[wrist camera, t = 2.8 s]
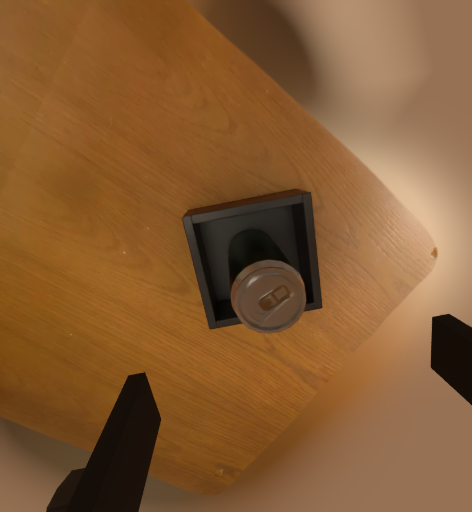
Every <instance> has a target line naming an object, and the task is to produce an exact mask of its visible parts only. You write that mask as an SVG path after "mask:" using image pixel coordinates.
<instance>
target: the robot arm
mask: <svg viewBox="0 0 472 512" xmlns="http://www.w3.org/2000/svg"><path fill="white" fill-rule="evenodd" d="M431 368H432V369H433V370H434V371H435V372H436V373H437V374H438V375H440V376H441V377H442V378H443V379H444V380H445V381H446V382H447V383H448V384H449V385H450V386H451V387H453V388H454V389H455V390H456V391H457V392H458V393H459V394H460V395H461V396H462V397H464V398H465V399H466V400H467V401H468V402H469V403H470V404H471V405H472V327H470V326H468V325H466V324H465V323H463V322H462V321H460V320H458V319H457V318H455V317H454V316H452V315H450V314H446V315H440V316H435V317H432V342H431ZM160 422H161V417H160V414H159V411H158V408H157V405H156V402H155V400H154V397H153V394H152V391H151V388H150V385H149V382H148V379H147V376H146V374H145V372H144V373H139V374H134V375H129V376H128V378H127V380H126V382H125V384H124V386H123V388H122V390H121V393H120V395H119V397H118V399H117V401H116V403H115V405H114V408H113V410H112V412H111V414H110V416H109V418H108V420H107V423H106V425H105V427H104V429H103V431H102V433H101V435H100V438H99V440H98V442H97V444H96V446H95V448H94V450H93V453H92V455H91V457H90V459H89V461H88V463H87V466H86V468H83V469H77V470H73V471H71V472H70V474H69V475H68V476H67V477H66V478H65V480H64V481H63V482H62V483H61V485H60V486H59V487H58V488H57V490H56V492H55V494H54V496H53V497H52V499H51V501H50V503H49V505H48V507H47V511H46V512H138V511H139V507H140V503H141V499H142V495H143V490H144V487H145V483H146V479H147V475H148V471H149V467H150V463H151V459H152V454H153V450H154V446H155V442H156V438H157V434H158V430H159V426H160Z"/></svg>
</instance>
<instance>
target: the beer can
mask: <svg viewBox="0 0 472 512" xmlns="http://www.w3.org/2000/svg"><path fill="white" fill-rule="evenodd" d="M228 268H229V283H230V297H231V303H232V307H233V309H234V311H235V313H236V314H237V316H238V317H239V319H240V321H241V322H242V323H243V324H244V325H245V326H247V327H248V328H249V329H251V330H254V331H256V332H259V333H268V334H270V333H276V332H281V331H283V330H285V329H287V328H289V327H291V326H292V325H293V324H294V323H295V322H297V321H298V320H299V318H300V316H301V315H302V313H303V312H304V308H305V304H306V292H305V286H304V282H303V280H302V278H301V276H300V274H299V273H298V271H297V270H296V269H295V267H294V266H293V265H292V264H291V262H290V261H289V260H288V258H287V257H286V256H285V254H284V253H283V252H282V251H281V249H280V248H279V247H278V245H277V244H276V243H275V241H274V240H273V239H272V238H271V237H270V236H269V235H268V234H266V233H264V232H262V231H258V230H249V231H244V232H242V233H240V234H239V235H237V236H236V237H235V238H234V239H233V240H232V242H231V244H230V246H229V249H228Z"/></svg>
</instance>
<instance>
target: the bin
mask: <svg viewBox="0 0 472 512" xmlns="http://www.w3.org/2000/svg"><path fill="white" fill-rule="evenodd" d="M182 220H183V224H184V228H185V232H186V236H187V240H188V244H189V248H190V252H191V256H192V260H193V264H194V268H195V272H196V276H197V281H198V285H199V289H200V293H201V297H202V301H203V305H204V309H205V313H206V317H207V321H208V325H209V329H215V328H221V327H226V326H231V325H236V324H242V322H241V321H240V319H239V317H238V316H237V314H236V313H235V311H234V309H233V307H232V303H231V297H230V283H229V268H228V249H229V246H230V244H231V242H232V240H233V239H234V238H235V237H236V236H237V235H239V234H240V233H242V232H244V231H249V230H258V231H262V232H264V233H266V234H268V235H269V236H270V237H271V238H272V239H273V240H274V241H275V243H276V244H277V245H278V247H279V248H280V249H281V251H282V252H283V253H284V254H285V256H286V257H287V258H288V260H289V261H290V262H291V264H292V265H293V266H294V267H295V269H296V270H297V271H298V273H299V274H300V276H301V278H302V280H303V282H304V286H305V292H306V304H305V308H304V312H305V311H310V310H315V309H320V308H322V298H321V288H320V278H319V268H318V258H317V248H316V238H315V228H314V218H313V208H312V198H311V192H307V191H302V190H298V189H294V190H289V191H284V192H278V193H273V194H268V195H263V196H258V197H253V198H248V199H242V200H237V201H232V202H227V203H222V204H217V205H212V206H206V207H201V208H196V209H191V210H188V211H187V213H186V214H185V215H184V216H183V217H182Z"/></svg>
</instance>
